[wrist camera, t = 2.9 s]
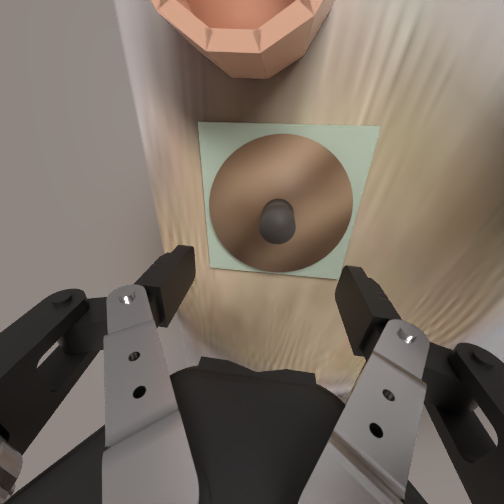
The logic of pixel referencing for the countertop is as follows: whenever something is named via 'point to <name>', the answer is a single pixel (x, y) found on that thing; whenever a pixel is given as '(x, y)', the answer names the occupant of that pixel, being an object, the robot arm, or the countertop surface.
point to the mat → (330, 136)
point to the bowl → (247, 31)
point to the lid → (281, 203)
